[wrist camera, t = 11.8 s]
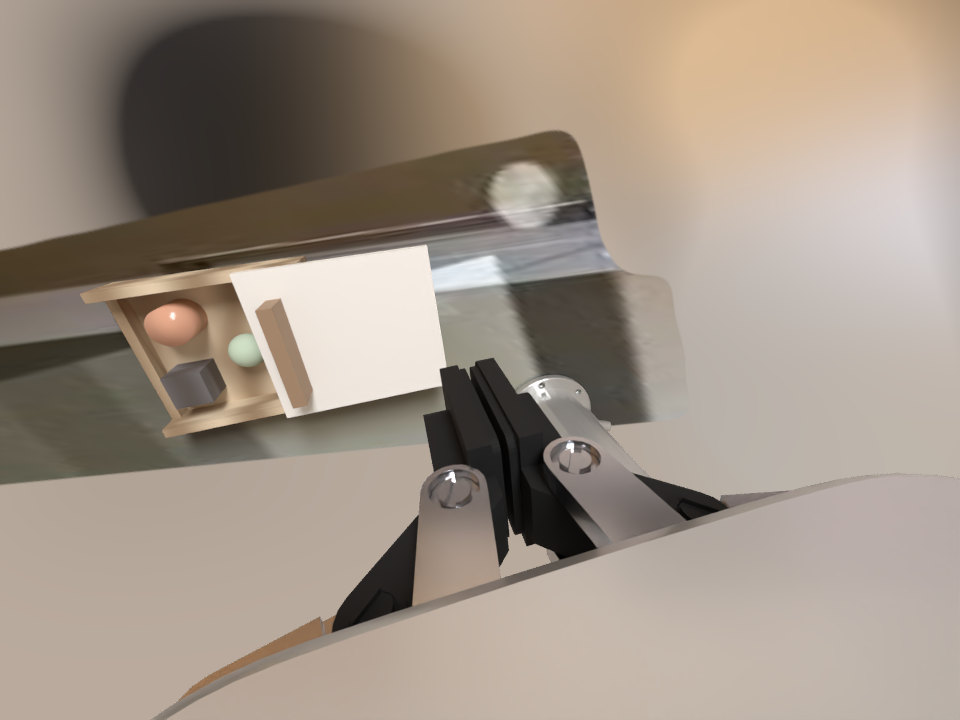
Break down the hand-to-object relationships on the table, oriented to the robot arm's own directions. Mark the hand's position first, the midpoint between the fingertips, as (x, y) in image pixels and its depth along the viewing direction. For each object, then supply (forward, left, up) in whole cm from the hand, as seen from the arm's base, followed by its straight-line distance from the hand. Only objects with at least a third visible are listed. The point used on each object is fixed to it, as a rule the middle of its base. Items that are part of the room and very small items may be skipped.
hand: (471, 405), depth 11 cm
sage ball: (+13, +12, -28) cm, 34 cm away
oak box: (+14, +12, -29) cm, 34 cm away
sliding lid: (+4, +8, -25) cm, 26 cm away
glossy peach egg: (+19, +10, -28) cm, 36 cm away
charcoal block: (+17, +16, -28) cm, 37 cm away
